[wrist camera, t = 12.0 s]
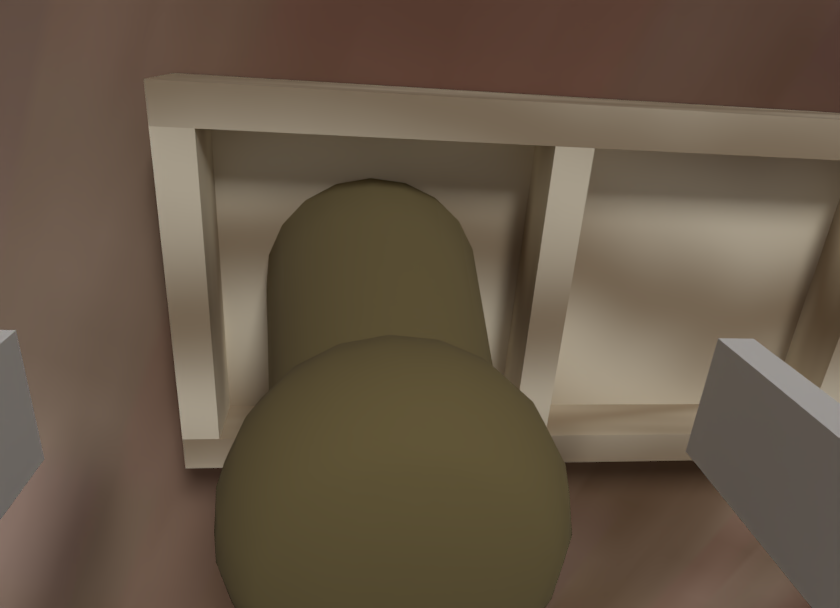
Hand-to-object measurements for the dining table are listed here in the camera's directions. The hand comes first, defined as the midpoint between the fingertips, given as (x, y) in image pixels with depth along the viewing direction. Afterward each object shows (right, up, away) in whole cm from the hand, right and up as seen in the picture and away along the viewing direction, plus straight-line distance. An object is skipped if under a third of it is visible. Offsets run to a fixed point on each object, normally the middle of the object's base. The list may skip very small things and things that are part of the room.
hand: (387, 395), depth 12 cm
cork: (-1, +2, +6) cm, 7 cm away
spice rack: (+9, +3, +8) cm, 12 cm away
